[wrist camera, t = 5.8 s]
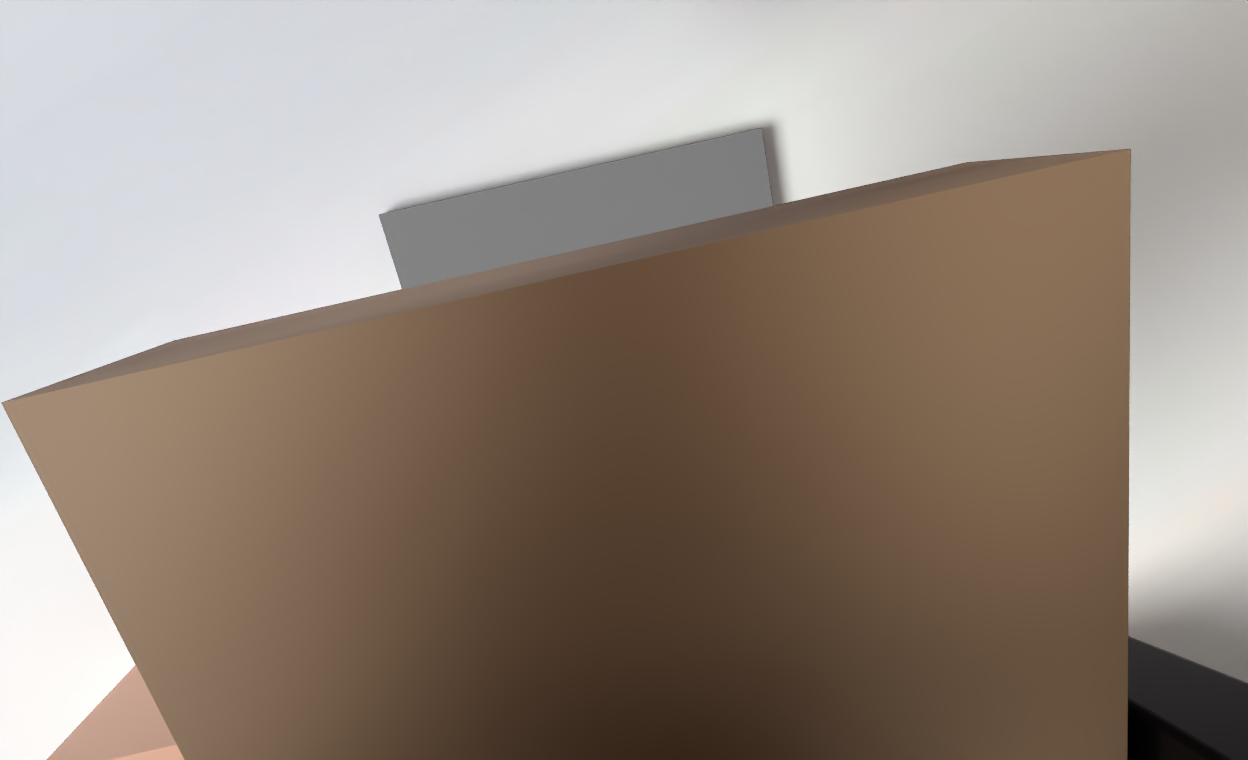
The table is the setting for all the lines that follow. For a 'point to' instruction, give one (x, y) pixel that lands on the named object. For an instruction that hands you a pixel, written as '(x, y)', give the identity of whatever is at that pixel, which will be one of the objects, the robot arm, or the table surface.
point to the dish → (122, 728)
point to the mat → (579, 209)
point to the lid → (646, 494)
